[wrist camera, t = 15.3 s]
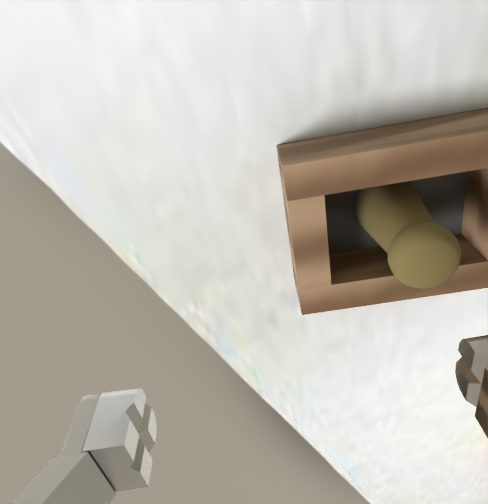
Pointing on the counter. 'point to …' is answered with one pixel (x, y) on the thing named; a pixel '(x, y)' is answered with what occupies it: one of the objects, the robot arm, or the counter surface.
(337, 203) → the well block
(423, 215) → the cork
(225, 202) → the counter surface
